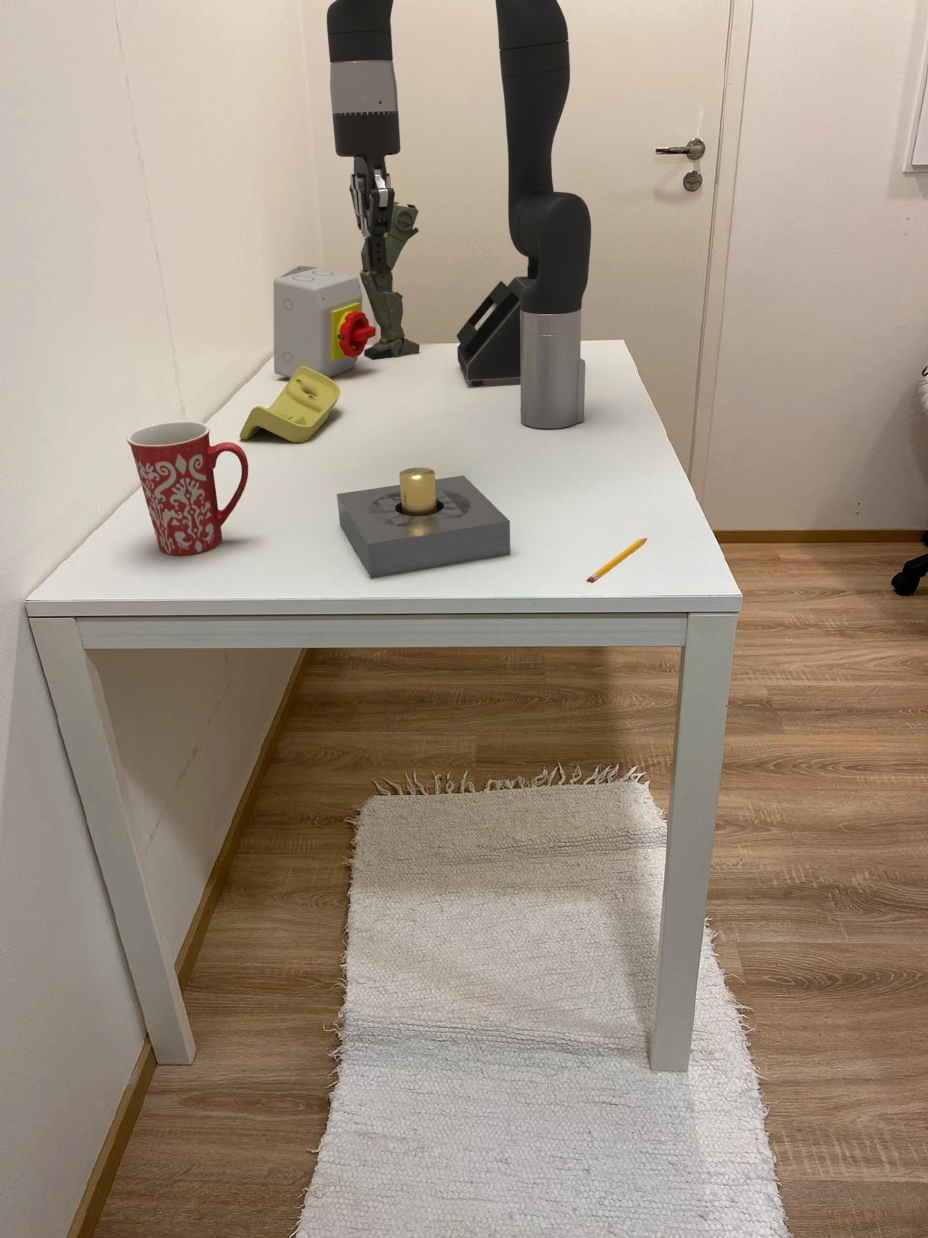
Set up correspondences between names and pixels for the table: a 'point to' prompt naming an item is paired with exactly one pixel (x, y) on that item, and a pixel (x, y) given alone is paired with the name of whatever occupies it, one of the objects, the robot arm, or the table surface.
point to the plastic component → (296, 407)
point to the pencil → (616, 560)
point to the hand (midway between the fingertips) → (377, 269)
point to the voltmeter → (495, 332)
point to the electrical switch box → (318, 321)
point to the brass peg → (418, 492)
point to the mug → (183, 484)
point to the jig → (422, 528)
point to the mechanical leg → (390, 289)
